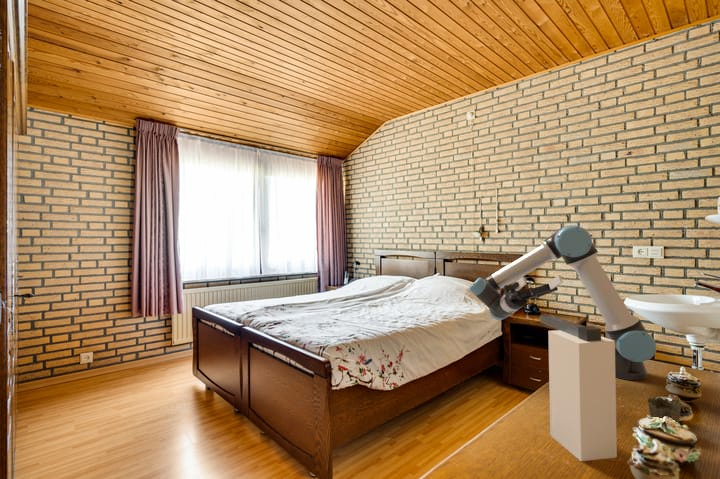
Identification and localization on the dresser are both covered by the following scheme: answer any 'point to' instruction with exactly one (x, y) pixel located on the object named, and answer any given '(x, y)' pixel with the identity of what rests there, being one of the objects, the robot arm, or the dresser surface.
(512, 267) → the robot arm
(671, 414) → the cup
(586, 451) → the tall cream upright block
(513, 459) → the dresser surface
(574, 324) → the dark grey bar
